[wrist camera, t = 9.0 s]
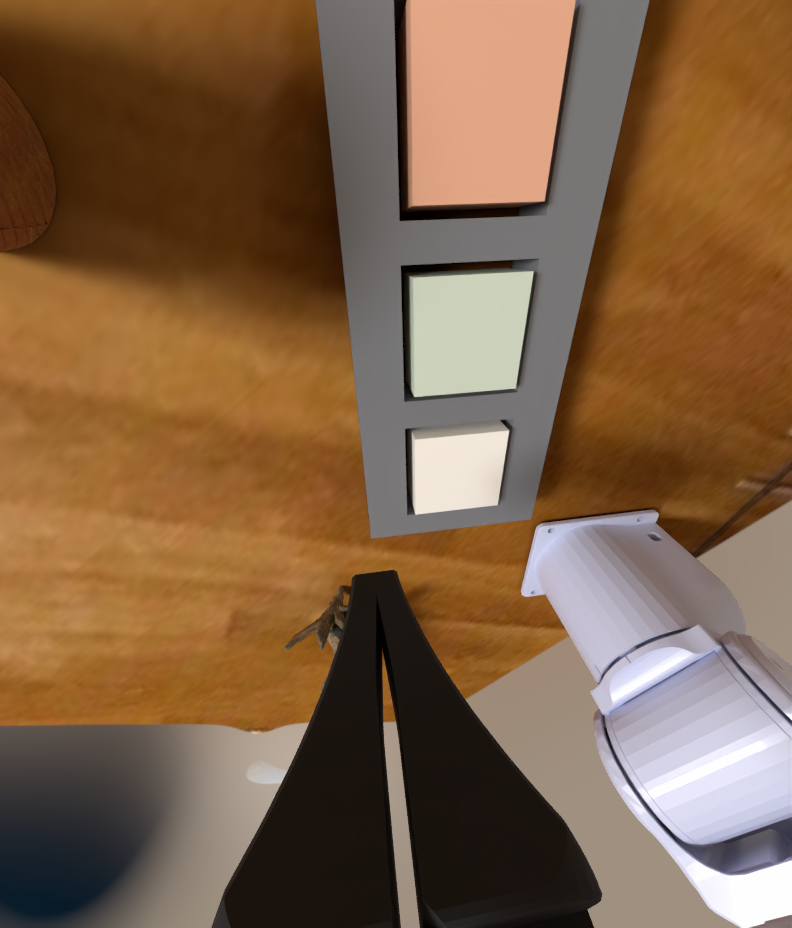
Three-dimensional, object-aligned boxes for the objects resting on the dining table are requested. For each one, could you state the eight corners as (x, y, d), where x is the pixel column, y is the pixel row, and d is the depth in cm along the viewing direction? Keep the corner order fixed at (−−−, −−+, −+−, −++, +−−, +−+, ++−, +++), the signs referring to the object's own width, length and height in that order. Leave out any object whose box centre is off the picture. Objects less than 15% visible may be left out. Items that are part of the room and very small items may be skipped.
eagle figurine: (263, 615, 25) (303, 694, 29) (303, 679, 20) (346, 768, 23) (350, 558, 29) (376, 634, 33) (403, 599, 24) (428, 686, 27)
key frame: (613, -43, 12) (673, -107, 9) (514, 494, 24) (531, 519, 22) (310, -53, 11) (302, -126, 9) (368, 511, 23) (371, 538, 21)
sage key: (507, 267, 16) (533, 271, 14) (495, 371, 18) (515, 388, 16) (403, 273, 15) (413, 277, 13) (405, 378, 18) (414, 397, 16)
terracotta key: (534, 36, 12) (577, -10, 10) (514, 207, 15) (544, 201, 12) (397, 35, 12) (410, -14, 9) (401, 211, 14) (412, 206, 12)
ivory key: (490, 409, 20) (509, 430, 17) (482, 479, 22) (497, 505, 20) (406, 417, 19) (414, 439, 17) (407, 487, 22) (415, 514, 20)
